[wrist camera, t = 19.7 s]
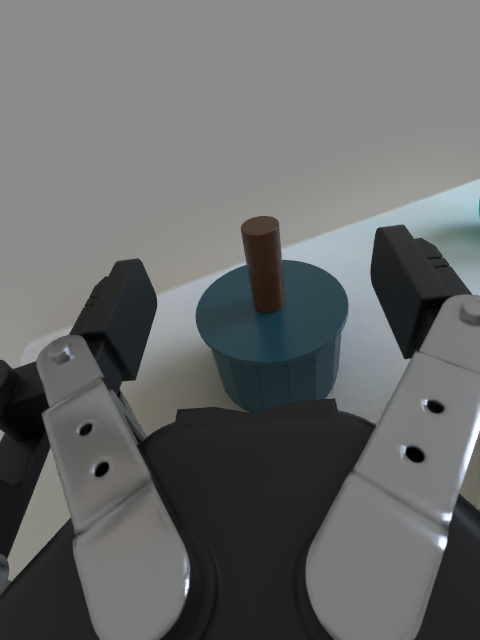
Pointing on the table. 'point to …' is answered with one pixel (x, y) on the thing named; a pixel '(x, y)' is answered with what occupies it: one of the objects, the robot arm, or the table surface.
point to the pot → (280, 380)
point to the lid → (271, 304)
